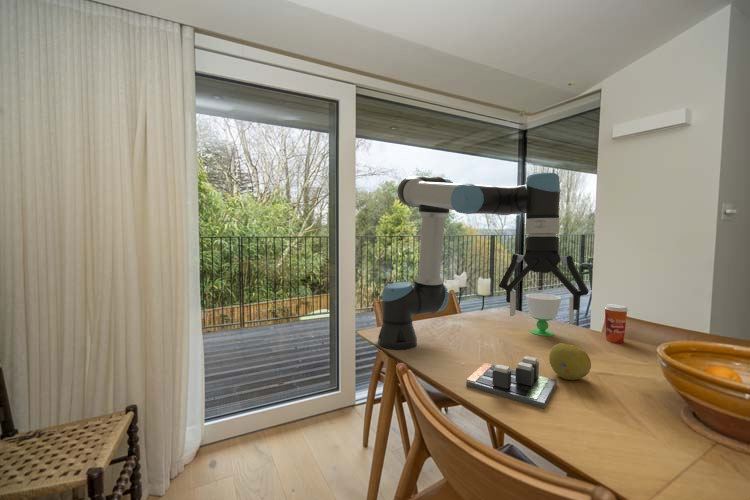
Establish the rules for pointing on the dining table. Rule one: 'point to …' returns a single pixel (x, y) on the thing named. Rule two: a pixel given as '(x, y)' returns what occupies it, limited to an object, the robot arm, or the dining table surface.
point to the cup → (543, 311)
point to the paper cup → (615, 322)
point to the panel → (513, 387)
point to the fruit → (569, 361)
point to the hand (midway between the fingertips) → (540, 318)
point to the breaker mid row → (525, 373)
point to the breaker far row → (534, 364)
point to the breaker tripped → (502, 376)
